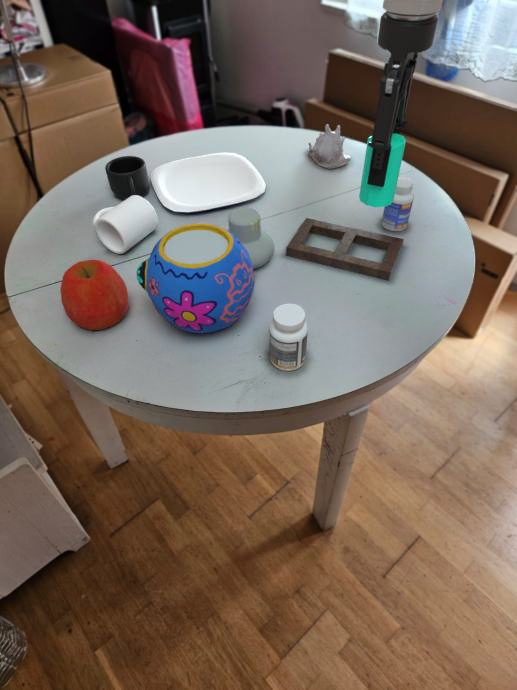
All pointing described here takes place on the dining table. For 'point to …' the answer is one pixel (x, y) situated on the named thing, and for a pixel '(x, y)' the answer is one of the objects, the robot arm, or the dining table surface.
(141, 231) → the mug
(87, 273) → the apple
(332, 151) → the seashell
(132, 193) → the mug
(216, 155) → the plate
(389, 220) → the pill bottle
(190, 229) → the ceramic pot
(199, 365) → the dining table surface
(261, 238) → the air freshener
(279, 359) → the pill bottle
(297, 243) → the holder
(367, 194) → the candle
